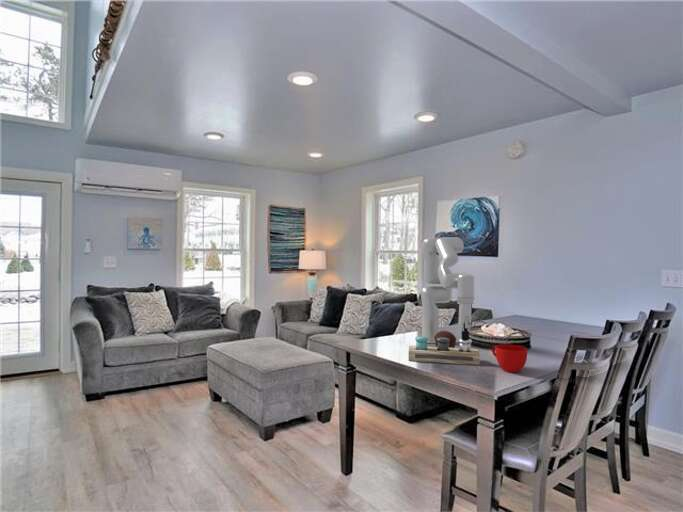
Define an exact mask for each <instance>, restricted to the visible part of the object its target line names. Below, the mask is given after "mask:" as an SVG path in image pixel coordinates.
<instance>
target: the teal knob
mask: <svg viewBox="0 0 683 512" xmlns="http://www.w3.org/2000/svg"><path fill="white" fill-rule="evenodd" d="M414 338H415V342H416V345H415V346H416V350H427V347H428V343H427V341H428V337H423V336H422V335H421V336H415V337H414Z"/></svg>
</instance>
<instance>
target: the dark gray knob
mask: <svg viewBox="0 0 683 512" xmlns="http://www.w3.org/2000/svg"><path fill="white" fill-rule="evenodd" d="M437 342H438V351H448V350H449V342H450V339H449V338H444V337H439V338H437Z"/></svg>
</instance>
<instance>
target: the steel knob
mask: <svg viewBox="0 0 683 512" xmlns="http://www.w3.org/2000/svg"><path fill="white" fill-rule="evenodd" d="M472 342H473V341H472V339H471V338H469V340H462V337H460V338H458V343H459V347H458V348H459V352H470V351H471V349H472V347H471V344H472Z"/></svg>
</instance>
